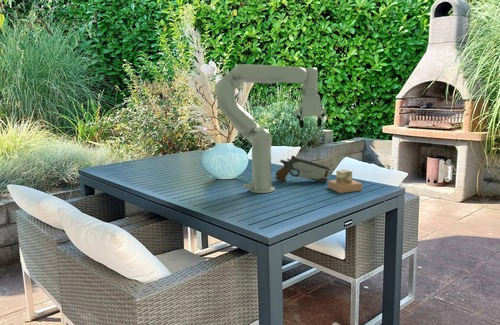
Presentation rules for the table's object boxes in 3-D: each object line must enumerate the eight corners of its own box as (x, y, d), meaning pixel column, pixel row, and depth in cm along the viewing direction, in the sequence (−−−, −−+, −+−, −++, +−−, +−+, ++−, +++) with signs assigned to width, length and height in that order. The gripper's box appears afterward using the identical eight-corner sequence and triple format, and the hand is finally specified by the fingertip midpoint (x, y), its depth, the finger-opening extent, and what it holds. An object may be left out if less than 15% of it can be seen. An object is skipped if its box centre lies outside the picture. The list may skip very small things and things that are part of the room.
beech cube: (342, 183, 208) (342, 172, 207) (336, 181, 214) (336, 170, 213) (352, 182, 210) (352, 171, 209) (346, 180, 215) (346, 169, 214)
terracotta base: (340, 194, 205) (340, 185, 204) (328, 188, 216) (328, 180, 215) (361, 191, 208) (362, 183, 208) (349, 185, 220) (349, 178, 219)
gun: (323, 194, 228) (331, 167, 224) (273, 179, 231) (281, 153, 228) (323, 191, 232) (331, 165, 229) (275, 177, 236) (282, 151, 233)
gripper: (297, 93, 206) (297, 129, 209) (329, 92, 211) (329, 126, 214) (291, 93, 213) (291, 127, 216) (322, 92, 218) (322, 125, 221)
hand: (310, 127), depth 215 cm, fingers open, 9 cm apart
